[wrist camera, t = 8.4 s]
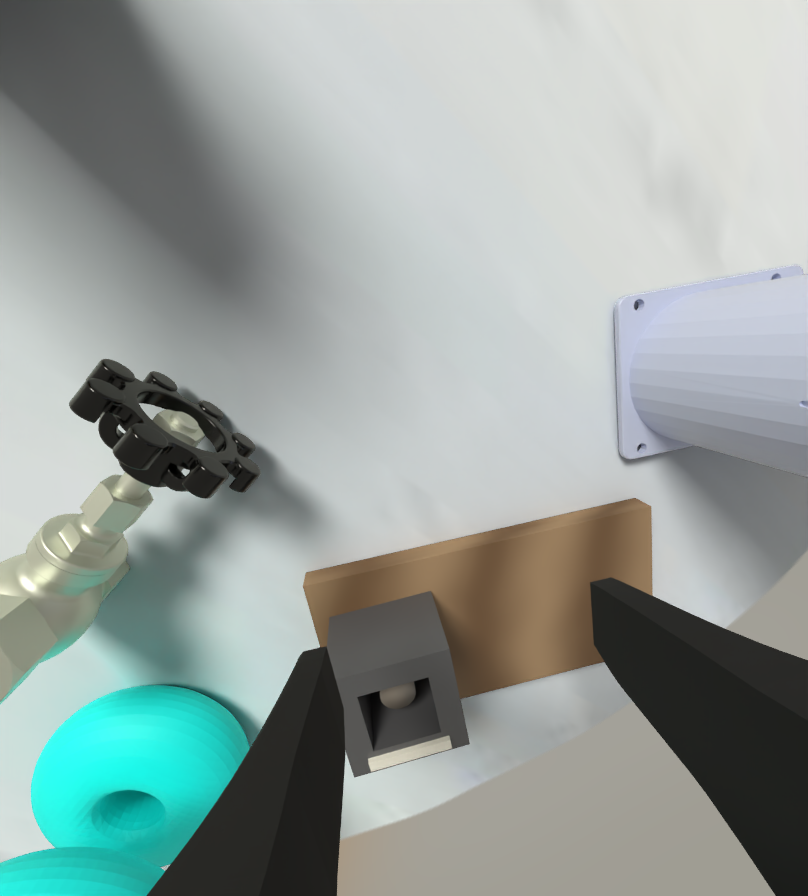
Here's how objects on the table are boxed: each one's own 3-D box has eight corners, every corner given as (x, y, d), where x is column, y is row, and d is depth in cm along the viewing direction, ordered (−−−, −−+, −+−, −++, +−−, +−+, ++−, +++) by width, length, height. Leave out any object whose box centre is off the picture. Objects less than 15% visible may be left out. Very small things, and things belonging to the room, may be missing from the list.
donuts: (-258, 1130, 11) (-81, 911, 10) (22, 771, 21) (129, 639, 20) (76, 1179, 14) (247, 1008, 13) (190, 838, 23) (292, 724, 22)
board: (635, 497, 22) (700, 532, 17) (638, 634, 24) (696, 692, 20) (305, 572, 20) (294, 629, 16) (343, 709, 23) (342, 788, 18)
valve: (125, 628, 20) (276, 452, 19) (18, 760, 13) (237, 505, 12) (-7, 555, 18) (151, 355, 17) (-200, 666, 12) (30, 360, 11)
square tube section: (430, 590, 20) (450, 652, 16) (448, 672, 21) (471, 748, 17) (329, 617, 20) (323, 687, 16) (354, 698, 21) (354, 782, 17)
